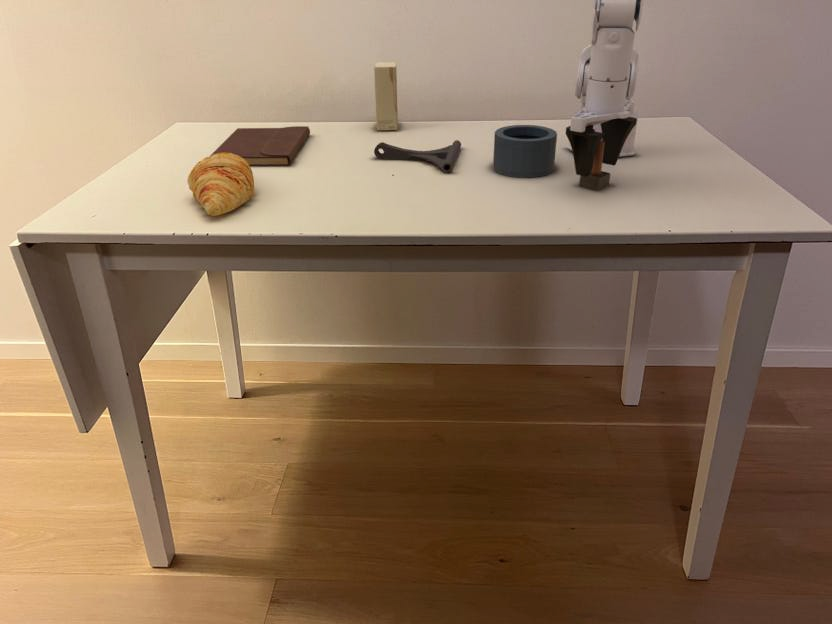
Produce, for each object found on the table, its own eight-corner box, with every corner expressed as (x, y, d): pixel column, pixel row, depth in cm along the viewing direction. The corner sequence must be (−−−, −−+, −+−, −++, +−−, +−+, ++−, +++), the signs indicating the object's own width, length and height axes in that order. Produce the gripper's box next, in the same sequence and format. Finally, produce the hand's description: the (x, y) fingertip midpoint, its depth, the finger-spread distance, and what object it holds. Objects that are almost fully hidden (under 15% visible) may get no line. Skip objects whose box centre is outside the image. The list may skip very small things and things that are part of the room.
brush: (590, 180, 113) (596, 137, 110) (609, 185, 111) (615, 141, 108) (578, 186, 111) (584, 141, 108) (597, 190, 109) (603, 145, 106)
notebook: (208, 166, 125) (206, 154, 124) (237, 136, 141) (235, 126, 140) (291, 165, 124) (290, 154, 123) (310, 135, 140) (309, 125, 139)
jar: (538, 157, 125) (541, 122, 122) (563, 174, 117) (567, 137, 113) (484, 162, 123) (486, 127, 120) (506, 180, 115) (508, 143, 111)
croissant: (238, 242, 103) (257, 195, 100) (171, 215, 100) (188, 166, 97) (250, 192, 121) (267, 150, 117) (193, 168, 118) (209, 124, 114)
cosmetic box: (397, 131, 142) (396, 66, 135) (376, 131, 142) (373, 67, 136) (398, 123, 147) (396, 60, 141) (377, 123, 148) (375, 61, 141)
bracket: (383, 147, 133) (382, 132, 131) (461, 149, 130) (461, 133, 129) (366, 170, 121) (365, 154, 119) (451, 173, 118) (452, 157, 117)
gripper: (605, 89, 96) (593, 186, 103) (657, 73, 105) (642, 163, 112) (562, 83, 100) (553, 176, 108) (615, 68, 109) (603, 155, 116)
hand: (596, 169), depth 110 cm, fingers open, 7 cm apart
